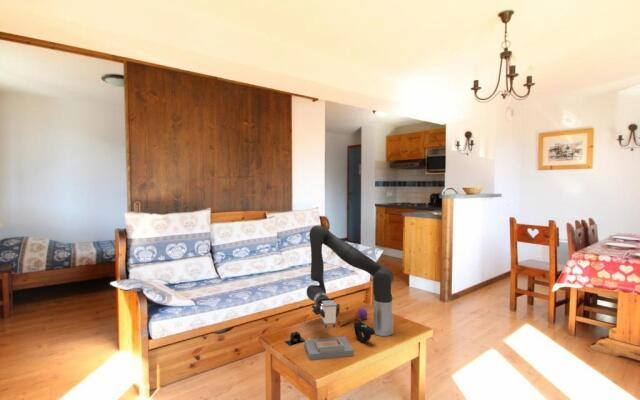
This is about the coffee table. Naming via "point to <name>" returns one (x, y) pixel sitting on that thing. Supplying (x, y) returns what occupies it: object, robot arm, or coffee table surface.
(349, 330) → the coffee table surface
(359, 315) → the kendama
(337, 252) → the robot arm
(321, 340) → the dock
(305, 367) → the coffee table surface
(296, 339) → the black notched block
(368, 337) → the controller
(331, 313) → the box with lid
